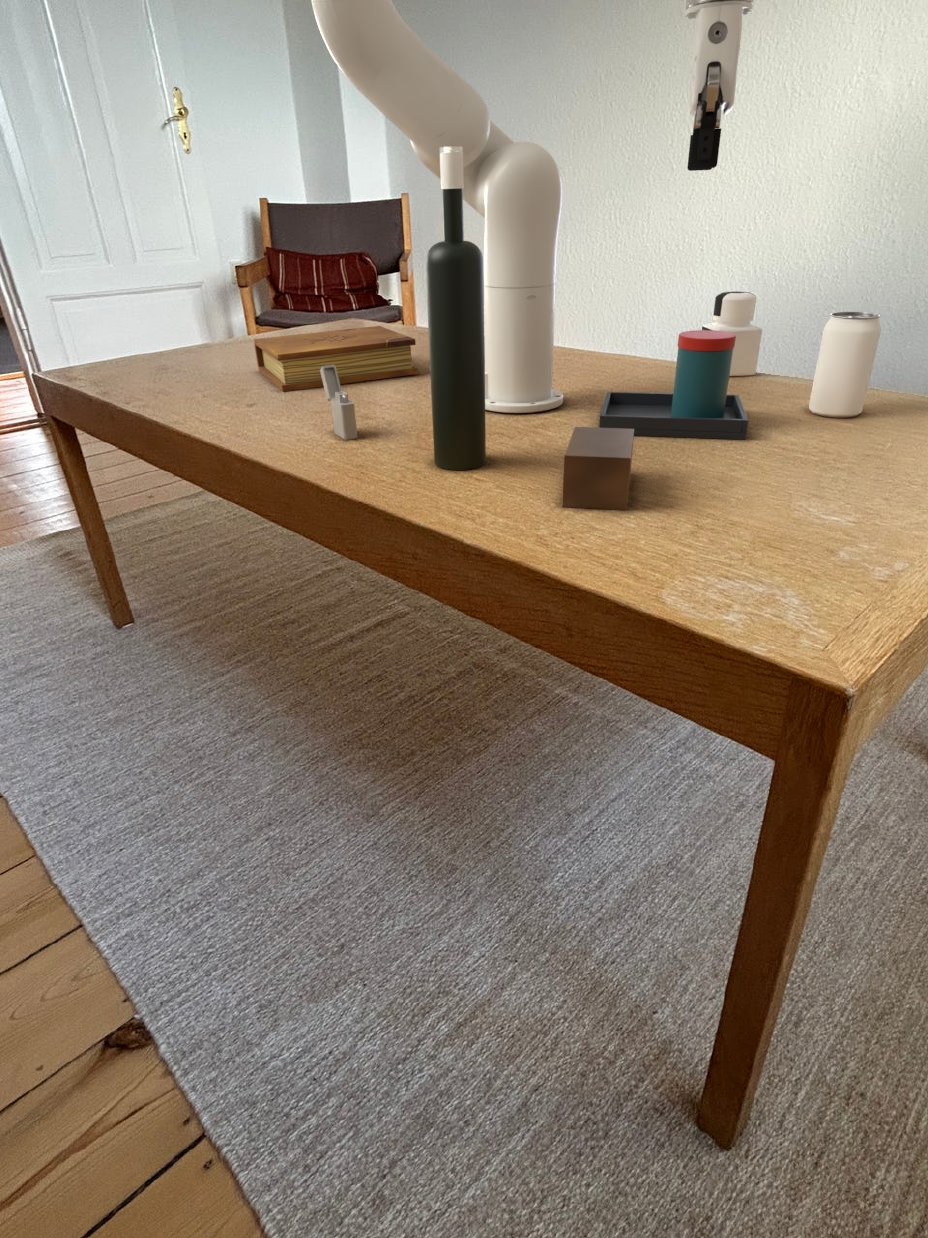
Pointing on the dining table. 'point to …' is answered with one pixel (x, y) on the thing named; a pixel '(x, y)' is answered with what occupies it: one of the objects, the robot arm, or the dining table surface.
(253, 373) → the dining table surface
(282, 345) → the diary
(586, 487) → the block
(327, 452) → the dining table surface
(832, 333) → the can
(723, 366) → the container
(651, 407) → the tray
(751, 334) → the medicine bottle
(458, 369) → the wine bottle
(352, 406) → the lighter
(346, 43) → the robot arm
